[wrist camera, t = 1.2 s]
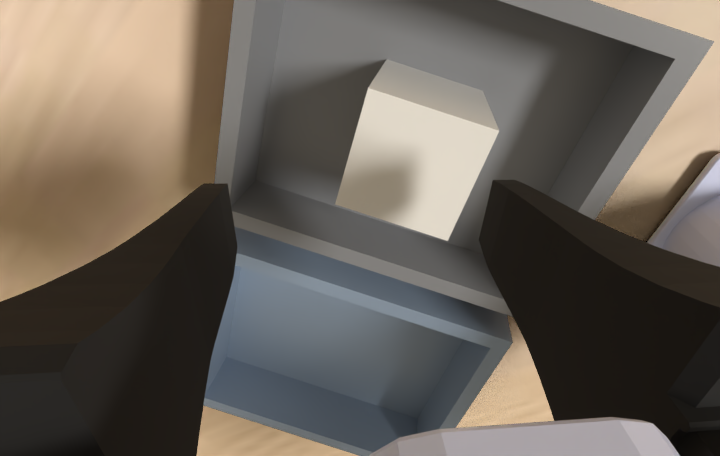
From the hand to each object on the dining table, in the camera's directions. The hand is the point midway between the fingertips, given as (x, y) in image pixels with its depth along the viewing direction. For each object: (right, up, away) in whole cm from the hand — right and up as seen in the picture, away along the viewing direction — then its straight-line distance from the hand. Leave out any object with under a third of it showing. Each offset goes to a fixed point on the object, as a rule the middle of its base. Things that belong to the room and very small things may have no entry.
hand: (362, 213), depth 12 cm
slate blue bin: (-1, -7, +16) cm, 18 cm away
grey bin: (+3, +5, +9) cm, 10 cm away
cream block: (+3, +5, +8) cm, 10 cm away
